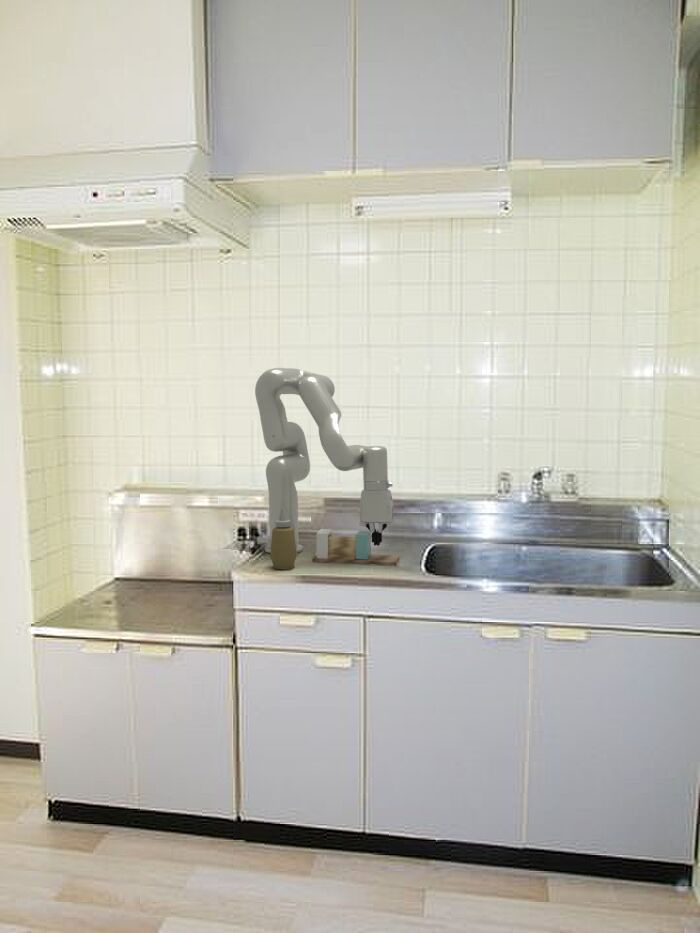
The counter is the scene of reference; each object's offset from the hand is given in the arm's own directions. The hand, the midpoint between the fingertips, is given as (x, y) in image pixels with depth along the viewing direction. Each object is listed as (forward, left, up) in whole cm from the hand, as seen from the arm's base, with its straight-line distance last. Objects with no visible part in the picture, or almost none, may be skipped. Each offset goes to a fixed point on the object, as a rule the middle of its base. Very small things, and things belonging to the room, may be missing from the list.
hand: (377, 544), depth 231 cm
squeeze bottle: (-27, -13, -6) cm, 30 cm away
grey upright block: (-17, 0, -5) cm, 18 cm away
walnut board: (-7, 0, -5) cm, 8 cm away
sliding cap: (-4, 0, -4) cm, 6 cm away
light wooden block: (-11, 0, -4) cm, 11 cm away
